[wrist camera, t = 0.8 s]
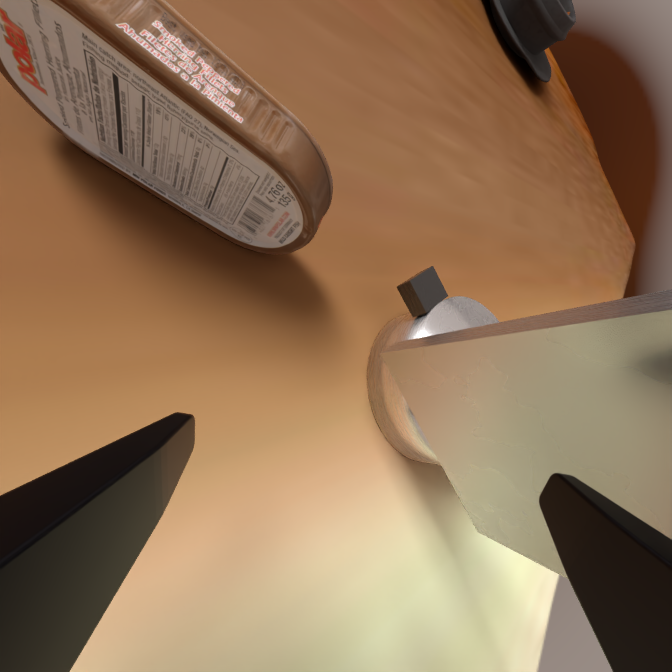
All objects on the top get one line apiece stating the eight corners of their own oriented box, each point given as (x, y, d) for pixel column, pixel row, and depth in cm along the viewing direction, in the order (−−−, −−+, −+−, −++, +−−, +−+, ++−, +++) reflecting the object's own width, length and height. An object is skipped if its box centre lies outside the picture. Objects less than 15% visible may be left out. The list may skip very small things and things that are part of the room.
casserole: (546, 79, 68) (594, 41, 61) (528, 101, 58) (582, 58, 51) (486, -38, 62) (530, -95, 55) (454, -37, 52) (504, -107, 45)
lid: (489, 516, 19) (463, 550, 17) (394, 342, 17) (360, 366, 16) (994, 745, 7) (1013, 890, 6) (813, 262, 6) (793, 329, 5)
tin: (292, 244, 22) (369, 166, 15) (277, 280, 21) (352, 212, 14) (35, 73, 16) (-36, -197, 9) (-11, 110, 14) (-137, -174, 7)
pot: (433, 524, 23) (498, 546, 19) (322, 328, 22) (368, 307, 18) (495, 425, 30) (553, 426, 26) (415, 270, 29) (463, 246, 24)
